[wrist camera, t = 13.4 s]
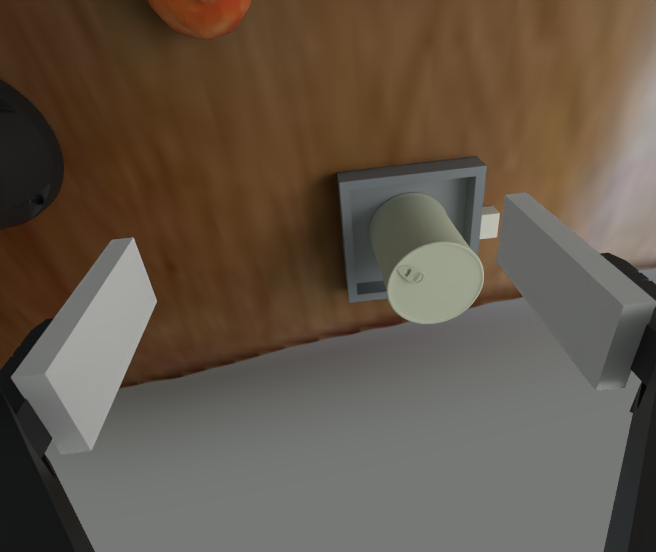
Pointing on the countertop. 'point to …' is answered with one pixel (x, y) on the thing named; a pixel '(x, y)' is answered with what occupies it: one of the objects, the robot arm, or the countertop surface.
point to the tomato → (201, 16)
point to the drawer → (387, 182)
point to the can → (424, 260)
